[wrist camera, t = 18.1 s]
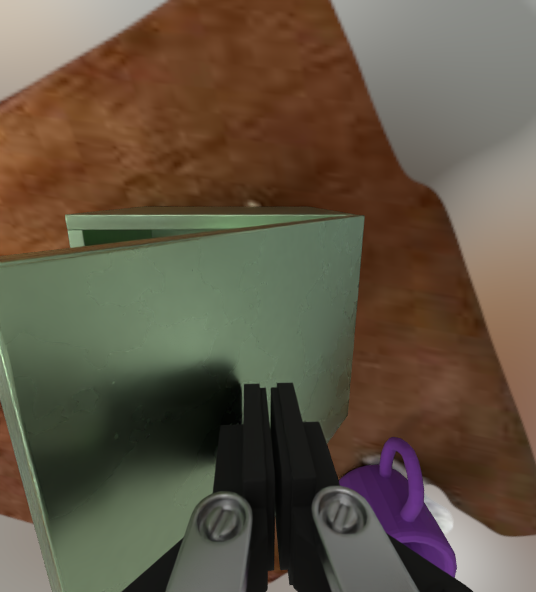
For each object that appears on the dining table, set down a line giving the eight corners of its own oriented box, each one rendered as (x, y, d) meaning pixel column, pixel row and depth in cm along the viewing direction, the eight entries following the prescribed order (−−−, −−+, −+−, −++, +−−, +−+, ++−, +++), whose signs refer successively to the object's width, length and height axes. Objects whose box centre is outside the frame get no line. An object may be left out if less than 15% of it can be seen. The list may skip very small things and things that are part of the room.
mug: (399, 527, 44) (441, 618, 35) (317, 524, 43) (337, 617, 34) (433, 417, 39) (493, 488, 30) (341, 411, 38) (372, 482, 29)
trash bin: (156, 332, 34) (99, 417, 21) (143, 206, 31) (64, 214, 17) (305, 329, 35) (340, 409, 22) (310, 206, 31) (355, 214, 18)
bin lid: (87, 725, 9) (103, 752, 8) (-39, 259, 5) (-22, 266, 5) (336, 411, 22) (347, 415, 21) (350, 214, 18) (365, 215, 18)
